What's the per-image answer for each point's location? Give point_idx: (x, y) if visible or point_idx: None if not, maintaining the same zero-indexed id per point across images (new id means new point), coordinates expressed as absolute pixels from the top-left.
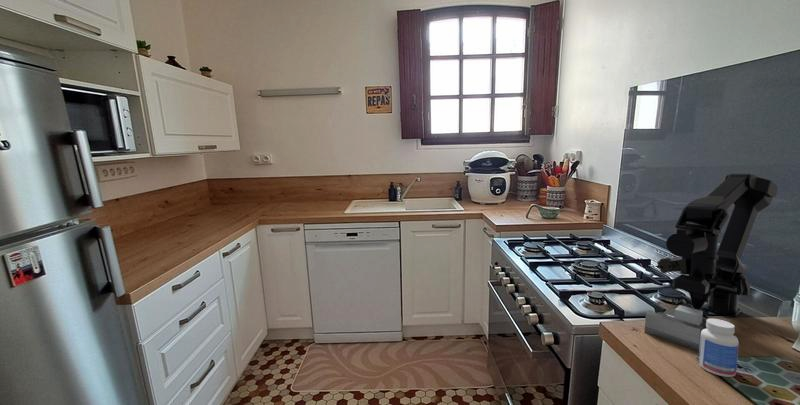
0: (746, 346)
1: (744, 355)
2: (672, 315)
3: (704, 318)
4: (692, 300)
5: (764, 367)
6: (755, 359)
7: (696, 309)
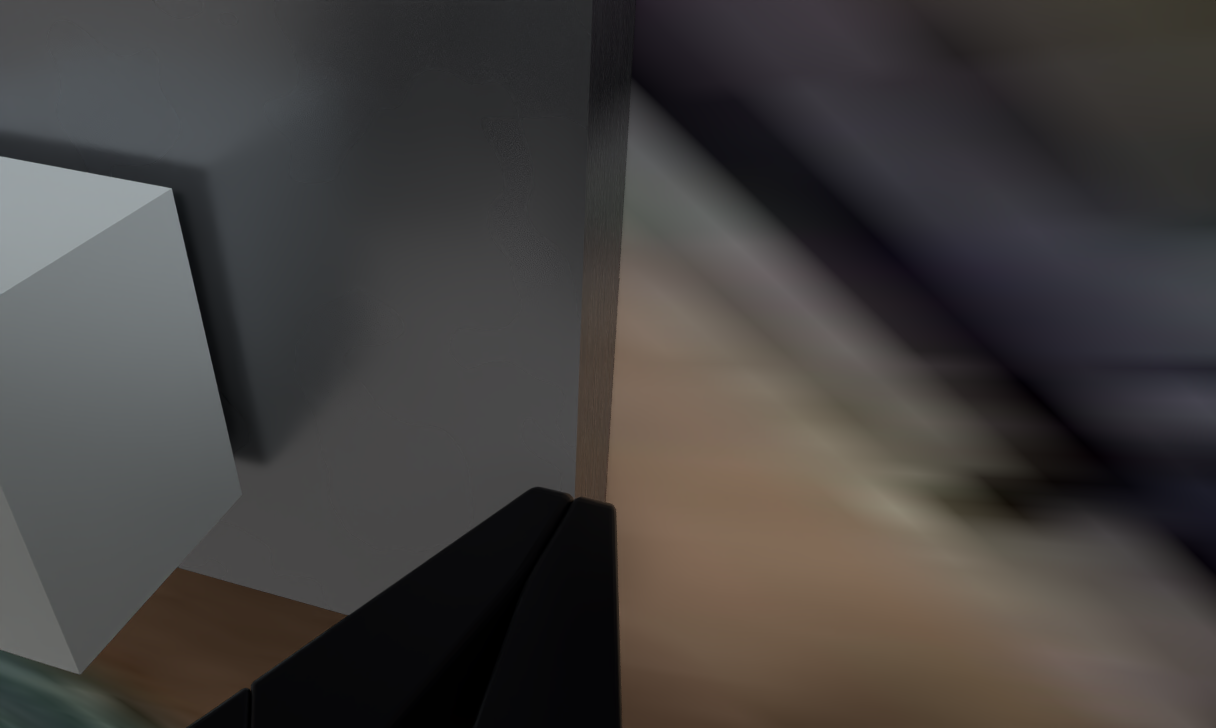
0: None
1: None
2: (144, 55)
3: None
4: (349, 641)
5: (13, 716)
6: (82, 703)
7: (44, 599)
